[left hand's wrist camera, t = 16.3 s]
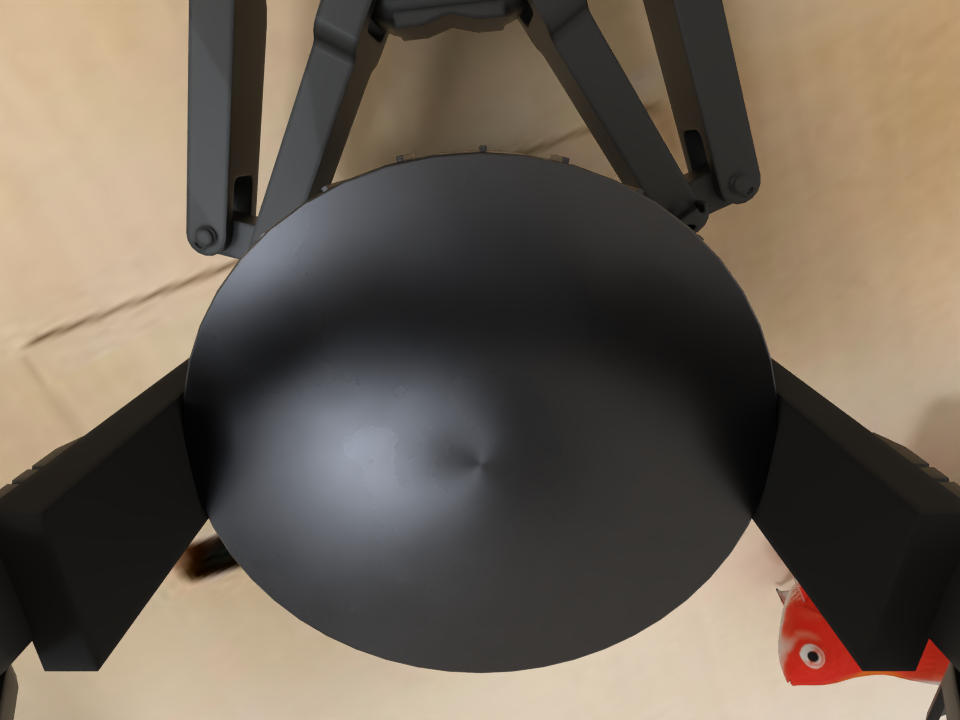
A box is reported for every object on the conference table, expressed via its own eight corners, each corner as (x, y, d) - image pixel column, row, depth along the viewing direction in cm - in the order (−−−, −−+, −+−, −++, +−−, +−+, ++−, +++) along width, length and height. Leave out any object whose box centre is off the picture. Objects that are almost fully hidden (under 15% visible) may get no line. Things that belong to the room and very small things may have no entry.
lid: (218, 108, 10) (149, 98, 8) (802, 189, 10) (882, 201, 8) (239, 575, 14) (196, 650, 12) (659, 616, 14) (689, 696, 12)
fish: (737, 512, 24) (991, 737, 17) (949, 372, 29) (1216, 505, 22) (703, 620, 31) (875, 811, 24) (879, 492, 36) (1065, 622, 29)
